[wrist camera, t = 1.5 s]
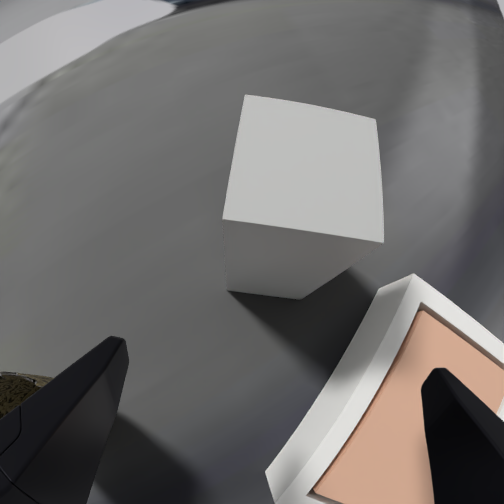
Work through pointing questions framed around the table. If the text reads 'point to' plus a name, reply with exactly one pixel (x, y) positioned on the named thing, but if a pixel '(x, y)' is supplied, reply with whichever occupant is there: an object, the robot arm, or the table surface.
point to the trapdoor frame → (365, 383)
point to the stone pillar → (300, 197)
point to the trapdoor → (405, 420)
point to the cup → (18, 389)
